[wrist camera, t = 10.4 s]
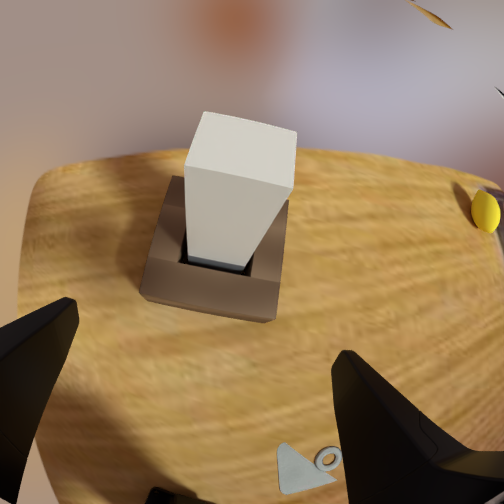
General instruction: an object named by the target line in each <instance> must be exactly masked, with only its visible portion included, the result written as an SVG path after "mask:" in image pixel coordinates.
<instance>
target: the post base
mask: <svg viewBox="0 0 504 504" xmlns="http://www.w3.org/2000/svg"><path fill="white" fill-rule="evenodd" d="M288 203H289V200H286V201H285V203H284V204H283V206H282V208H281V209H280V211H279V212H278V214H277V216H276V217H275V219H274V220H273V222H272V224H271V225H270V227H269V229H268V230H267V232H266V233H265V235H264V237H263V238H262V240H261V241H260V243H259V245H258V246H257V248H256V249H255V251H254V253H253V254H252V256H251V258H250V259H249V261H248V262H247V264H246V269H245V275H244V276H242V275H237V274H232V273H227V272H222V271H217V270H212V269H207V268H202V267H197V266H192V265H187V264H182V263H183V258H184V254H185V250H186V246H187V229H186V209H185V178H184V177H179V176H172V179H171V182H170V184H169V187H168V190H167V193H166V196H165V200H164V203H163V206H162V209H161V212H160V215H159V219H158V222H157V225H156V229H155V232H154V236H153V239H152V243H151V247H150V250H149V254H148V258H147V262H146V266H145V270H144V274H143V278H142V282H141V286H140V290H139V293H140V294H141V295H142V296H143V297H144V298H145V299H146V300H147V301H150V302H154V303H159V304H163V305H168V306H172V307H177V308H182V309H186V310H191V311H196V312H201V313H207V314H212V315H217V316H223V317H228V318H234V319H240V320H246V321H252V322H258V323H266V322H269V321H272V320H275V319H276V313H277V305H278V297H279V289H280V280H281V271H282V262H283V253H284V244H285V234H286V224H287V214H288Z"/></svg>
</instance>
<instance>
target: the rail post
mask: <svg viewBox="0 0 504 504" xmlns="http://www.w3.org/2000/svg"><path fill="white" fill-rule="evenodd" d="M296 139H297V132H294V131H291V130H287V129H283V128H280V127H276V126H272V125H268V124H264V123H260V122H256V121H251V120H247V119H242V118H238V117H233V116H228V115H223V114H218V113H212V112H206V111H204V113H203V116H202V118H201V121H200V123H199V126H198V128H197V131H196V134H195V136H194V139H193V142H192V145H191V147H190V150H189V153H188V156H187V159H186V162H185V164H184V178H185V209H186V229H187V246H188V264H189V265H192V266H197V267H202V268H207V269H212V270H217V271H222V272H227V273H232V274H237V275H240V274H241V273H242V271H243V270H244V268H245V266H246V264H247V262H248V261H249V259H250V258H251V256H252V254H253V253H254V251H255V249H256V248H257V246H258V245H259V243H260V241H261V240H262V238H263V237H264V235H265V233H266V232H267V230H268V229H269V227H270V225H271V224H272V222H273V220H274V219H275V217H276V216H277V214H278V212H279V211H280V209H281V208H282V206H283V204H284V203H285V201H286V199H287V198H288V196H289V195H290V193H291V191H292V190H293V184H294V170H295V156H296Z"/></svg>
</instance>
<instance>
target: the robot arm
mask: <svg viewBox="0 0 504 504" xmlns="http://www.w3.org/2000/svg"><path fill="white" fill-rule="evenodd" d="M78 325H79V314H78V308H77V302H76V301H75V300H74V299H71V298H68V297H63V298H61V299H59V300H57V301H55V302H53V303H50V304H48V305H46V306H44V307H42V308H40V309H38V310H36V311H33V312H31V313H29V314H27V315H25V316H23V317H21V318H19V319H17V320H15V321H13V322H11V323H9V324H7V325H5V326H3V327H1V328H0V498H2V499H3V500H6V501H7V502H9V503H11V504H16V503H17V498H18V493H19V489H20V485H21V481H22V477H23V473H24V469H25V466H26V462H27V457H28V455H29V451H30V448H31V445H32V442H33V439H34V436H35V433H36V431H37V428H38V425H39V422H40V420H41V417H42V414H43V412H44V409H45V407H46V404H47V402H48V399H49V397H50V394H51V392H52V390H53V387H54V385H55V383H56V380H57V378H58V376H59V374H60V372H61V370H62V367H63V365H64V363H65V360H66V358H67V355H68V352H69V349H70V347H71V344H72V341H73V338H74V336H75V333H76V330H77V328H78ZM331 376H332V388H333V402H334V411H335V417H336V422H337V428H338V433H339V439H340V445H341V452H342V458H343V464H344V471H345V478H346V485H347V492H348V500H349V504H504V451H475V450H471V449H469V448H467V447H465V446H464V445H463V444H461V443H460V442H458V441H457V440H456V439H454V438H453V437H452V436H450V435H449V434H448V433H446V432H445V431H444V430H442V429H441V428H440V427H439V426H437V425H436V424H435V423H434V422H432V421H431V420H430V419H429V418H428V417H427V416H425V415H424V414H423V413H422V412H421V411H419V410H418V408H416V407H415V406H414V405H413V404H412V403H411V402H410V401H409V400H408V399H406V398H405V397H404V396H403V395H402V394H401V393H400V392H399V391H398V390H396V389H395V388H394V387H393V386H392V385H391V384H390V383H389V382H388V381H386V380H385V379H384V378H383V377H382V376H381V375H380V374H379V373H378V372H377V371H375V370H374V369H373V368H372V367H371V366H370V365H369V364H368V363H367V362H365V361H364V360H363V359H362V358H361V357H360V356H359V355H358V354H357V353H356V352H354V351H352V350H342V351H341V352H340V354H339V355H338V357H337V359H336V360H335V362H334V364H333V365H332V368H331ZM154 491H157V492H159V493H155V492H154ZM145 504H206V503H205V502H202V501H199V500H195V499H192V498H189V497H186V496H183V495H180V494H174V493H171V492H169V491H166V490H163V489H161V488H158V487H153V488H152V489H151V490H150V493H149V495H148V497H147V499H146V502H145Z"/></svg>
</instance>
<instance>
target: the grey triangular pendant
mask: <svg viewBox="0 0 504 504" xmlns="http://www.w3.org/2000/svg"><path fill="white" fill-rule="evenodd" d="M329 453H334V454H335V456H336V457H335V460H334V462H333V463H332V464H330V465H324V464H323V462H322V461H323V458H324V456H326V455H327V454H329ZM277 460H278V473H279V486H280V491H281V492H282V493H283V494H286V495H287V494H291V493H296V492H300V491H303V490H307V489H311V488H314V487H318V486H321V485H324V484H328V483H331V482H334V481H337V480H336V479H335V478H333V477H332V476H330V475H329V474H327V473H326V472H324V471H330V470H332V469H334V468H336V467H337V466H338V465H339V463H340V462H341V460H342V452H341V450H340V449H339V448H338V447H335V446H330V447H327V448H324V449H323V450H321V451H320V452H319V453H318V455H317V456H316V458H315V465H314V464H313V463H311V462H310V461H309V460H307V459H306V458H305V457H303V456H302V455H301V454H299V453H298V452H297V451H295V450H294V449H293V448H291V447H290V446H289V445H287V444H286V443H285V442H284V443H282V444H281V445H280V446H279V447H278V450H277Z"/></svg>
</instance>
